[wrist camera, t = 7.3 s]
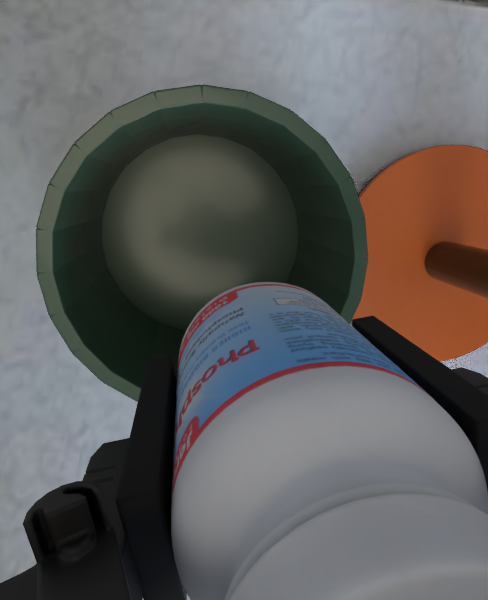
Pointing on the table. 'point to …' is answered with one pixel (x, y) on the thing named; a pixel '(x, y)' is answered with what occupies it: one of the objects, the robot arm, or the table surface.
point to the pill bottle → (315, 463)
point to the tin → (190, 223)
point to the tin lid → (430, 249)
